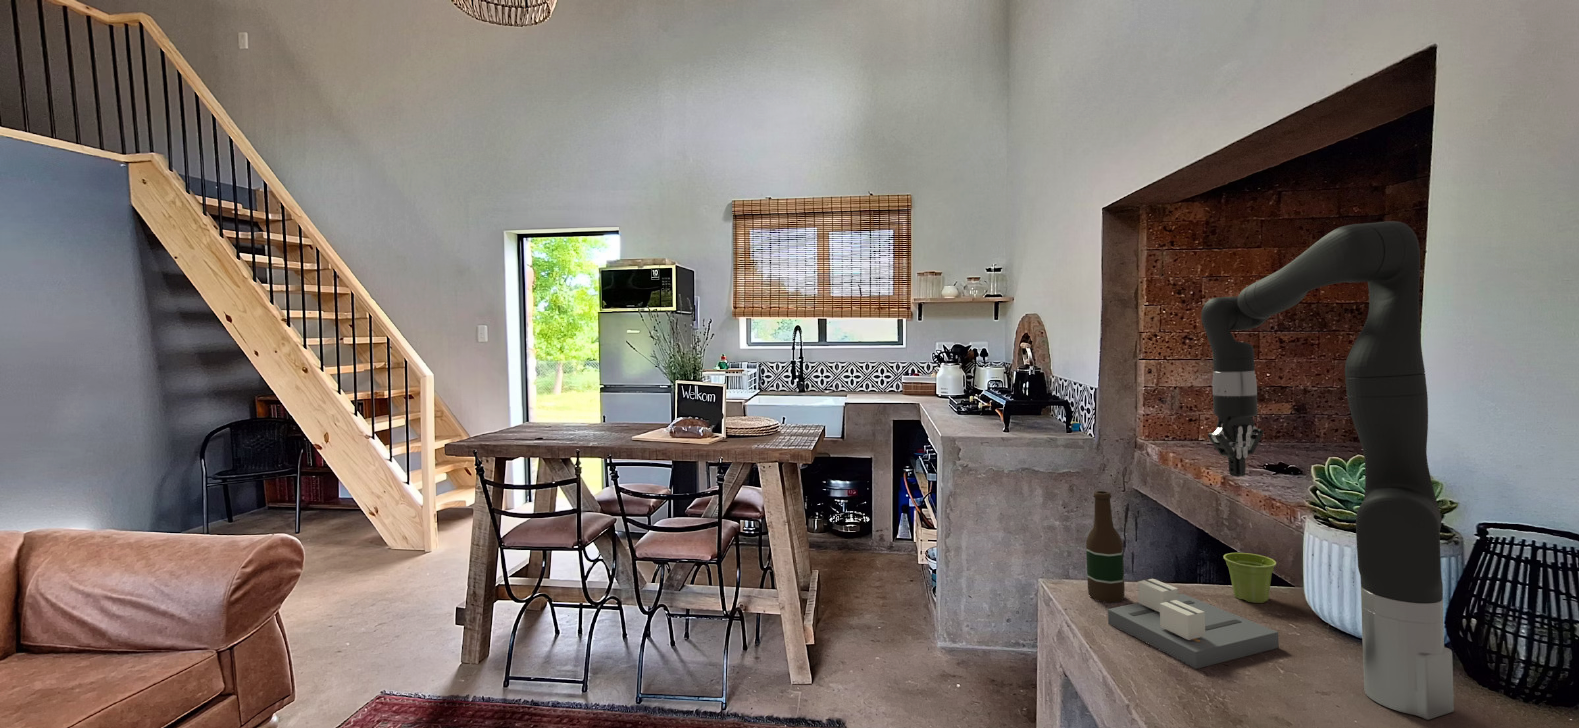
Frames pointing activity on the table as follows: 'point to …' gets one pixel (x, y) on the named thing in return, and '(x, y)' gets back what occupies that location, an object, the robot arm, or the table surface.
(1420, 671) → the robot arm
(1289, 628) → the table surface
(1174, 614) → the block
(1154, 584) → the block
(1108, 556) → the beer bottle
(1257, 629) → the fader board
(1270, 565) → the plant pot
